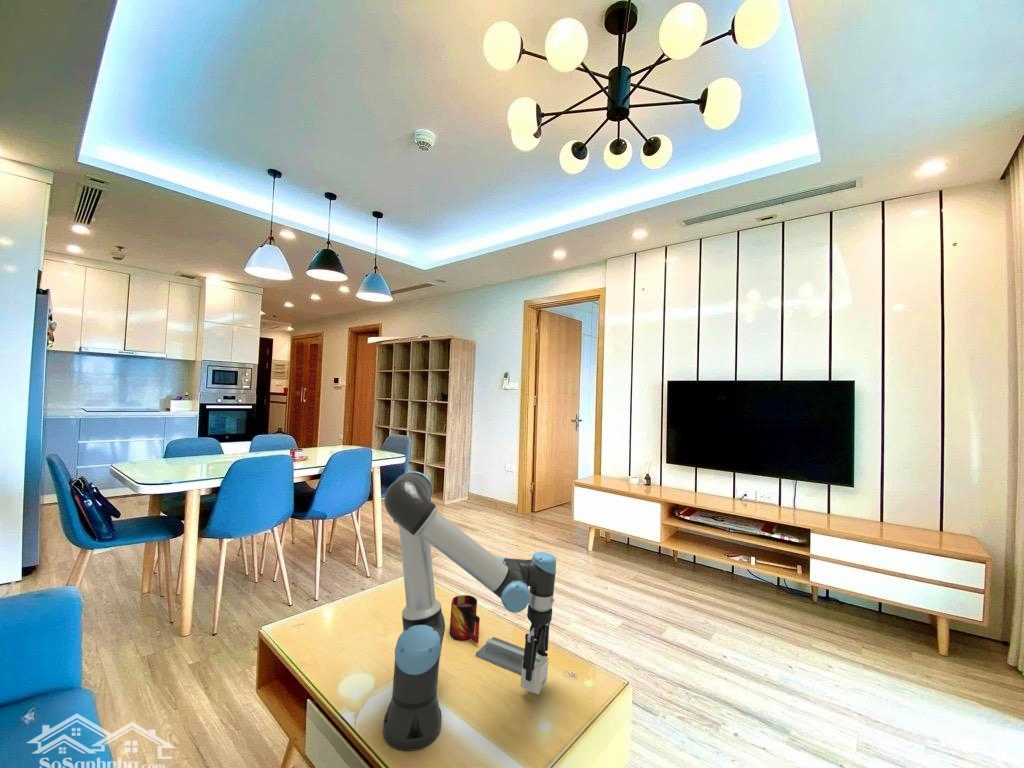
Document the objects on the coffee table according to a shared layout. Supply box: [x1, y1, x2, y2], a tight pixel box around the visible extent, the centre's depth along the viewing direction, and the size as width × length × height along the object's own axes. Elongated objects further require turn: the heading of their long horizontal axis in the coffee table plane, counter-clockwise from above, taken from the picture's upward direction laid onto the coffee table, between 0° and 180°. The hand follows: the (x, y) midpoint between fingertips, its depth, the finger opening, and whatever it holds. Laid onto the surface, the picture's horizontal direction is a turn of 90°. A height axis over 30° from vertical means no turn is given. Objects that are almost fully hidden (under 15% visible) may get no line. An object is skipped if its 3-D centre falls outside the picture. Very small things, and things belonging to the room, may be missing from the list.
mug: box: [448, 594, 481, 644], centre depth 153 cm, size 10×14×12 cm
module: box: [519, 653, 549, 696], centre depth 125 cm, size 6×6×8 cm
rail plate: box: [475, 636, 525, 676], centre depth 141 cm, size 12×20×3 cm, turn 62°
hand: (533, 683), depth 125 cm, fingers closed on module, 6 cm apart
